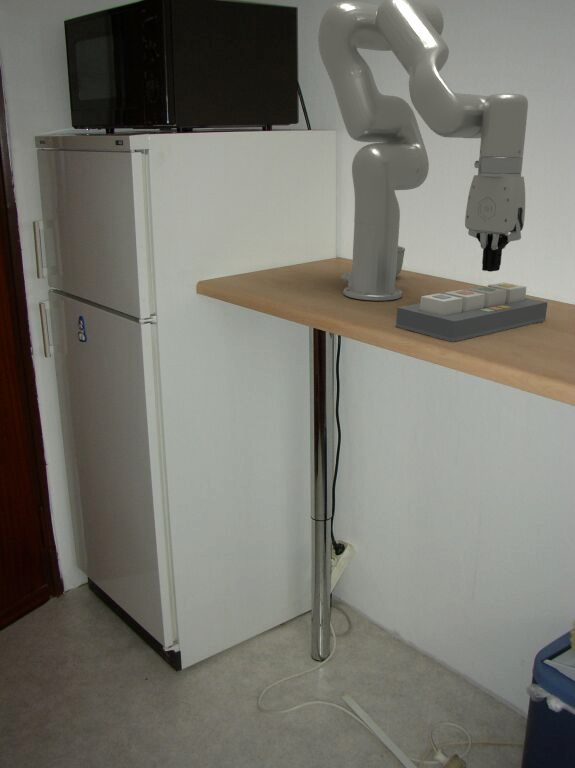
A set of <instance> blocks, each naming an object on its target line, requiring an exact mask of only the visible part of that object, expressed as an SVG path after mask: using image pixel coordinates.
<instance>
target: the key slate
mask: <svg viewBox="0 0 575 768" xmlns="http://www.w3.org/2000/svg"><path fill="white" fill-rule="evenodd" d="M462 302H463V298H459V297H455V296H450V295H445V294H444V293H433V294H427V295H422V296H420V302H419V304H420V311H423V312H427V313H431V314H435V315H439V316H447V315H452V314H457V313H461V312H462Z"/></svg>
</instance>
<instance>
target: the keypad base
mask: <svg viewBox="0 0 575 768" xmlns="http://www.w3.org/2000/svg"><path fill="white" fill-rule="evenodd" d="M547 309H548V301H543V300H538V299H534V298H529V297H525V300H523V301H518V302H513V303H506V302H505V304H503V305H498V306H493V307H485V306H484V308H483V309H477V310H472V311H467V312H466V311H462V312H461V313H457V314H452V315H447V316H439V315H435V314H431V313H427V312H423V311H420V303H415V304H410V305H409V304H408V305H403V306H398V307H397V308H396V318H395V319H396V321H395V327H396V328H399V329H403V330H406V329H407V330H406V331H410V330H411V331H410V332H413V331H414V333H417V334H421V335H425V336H428V335H429V337H432V336H433V338H436V339H439V338H440V340H444V341H447V342H451V343H454V342H455V343H456V342H459V341H462V340H467V339H472V338H476V337H480V336H481V337H482V336H484V335H489V334H493V333H497V332H502V331H506V330H510V329H514V328H519V327H523V326H527V325H531V324H537V323H541V322H544V321H546V316H547Z"/></svg>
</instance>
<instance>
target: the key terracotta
mask: <svg viewBox="0 0 575 768" xmlns="http://www.w3.org/2000/svg"><path fill="white" fill-rule="evenodd" d="M443 294H445V295H450V296H455V297H459V298H463V302H462V311H466V312H467V311H472V310H477V309H483V308H484V302H485V294H482V293H477V292H472V291H467V289H458V290H451V291H446V292H444V293H443Z"/></svg>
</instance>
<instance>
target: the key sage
mask: <svg viewBox="0 0 575 768" xmlns="http://www.w3.org/2000/svg"><path fill="white" fill-rule="evenodd" d="M466 290H467V291H472V292H477V293H482V294H485V302H484V306H485V307H493V306H498V305H503V304H505V299H506V290H502V289H497V288H491V287H488V286H486V285H481V286H476V287H475V286H474V287H470V288H466Z"/></svg>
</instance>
